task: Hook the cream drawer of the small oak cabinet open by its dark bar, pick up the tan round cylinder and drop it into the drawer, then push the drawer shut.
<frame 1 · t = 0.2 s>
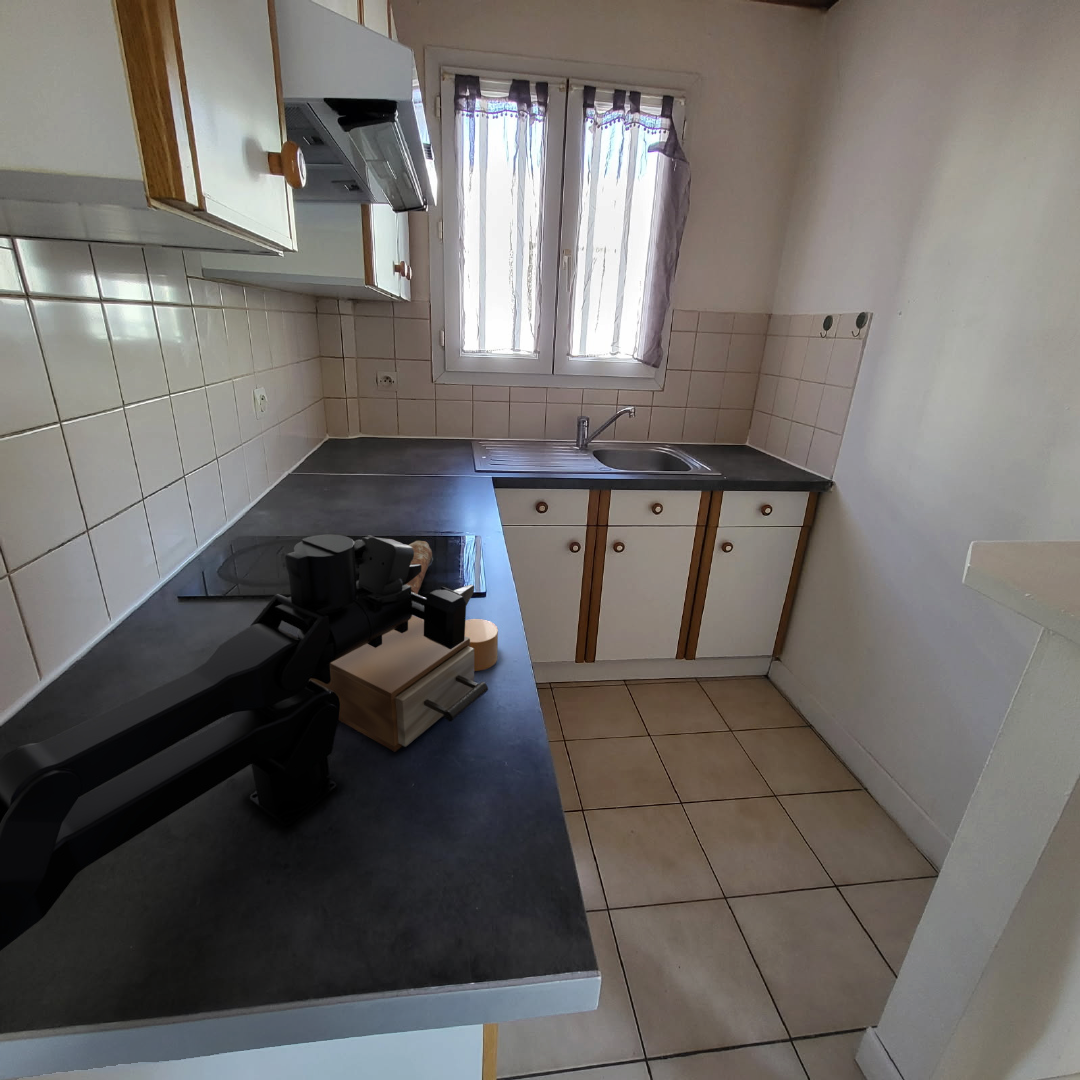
hand: (446, 577, 75), 16 cm above the counter, tool horizontal, fingers open, 9 cm apart
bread: (414, 585, 109), on the counter
drawer: (410, 680, 73), point 4 cm above the counter, slide at 0.0 cm
tan round cylinder: (475, 658, 86), on the counter
cabinet: (390, 695, 77), on the counter
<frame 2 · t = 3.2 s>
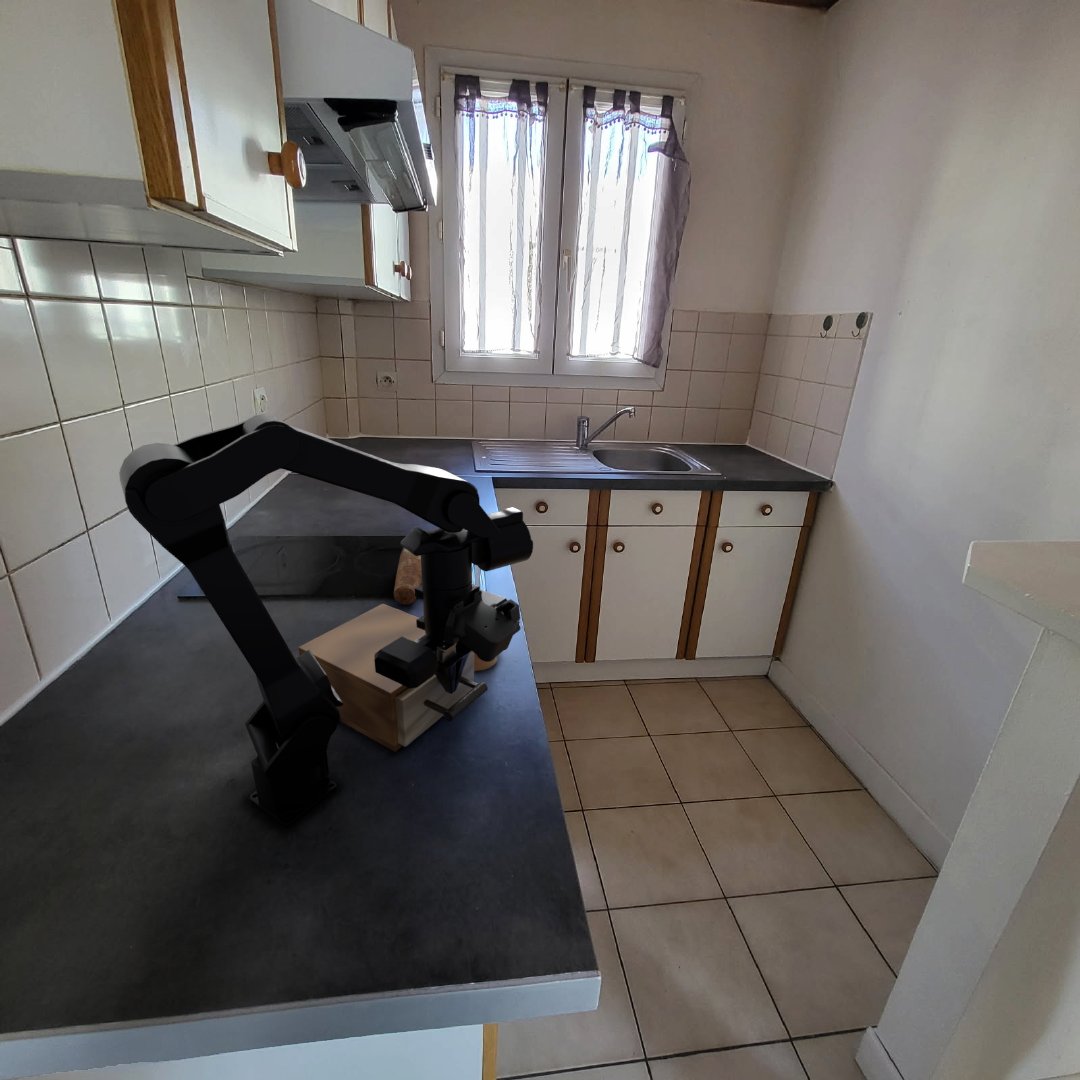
hand: (450, 691, 70), 5 cm above the counter, tool pointing down, fingers closed
drawer: (410, 680, 73), point 4 cm above the counter, slide at 0.0 cm, touching cabinet
everything else where it was.
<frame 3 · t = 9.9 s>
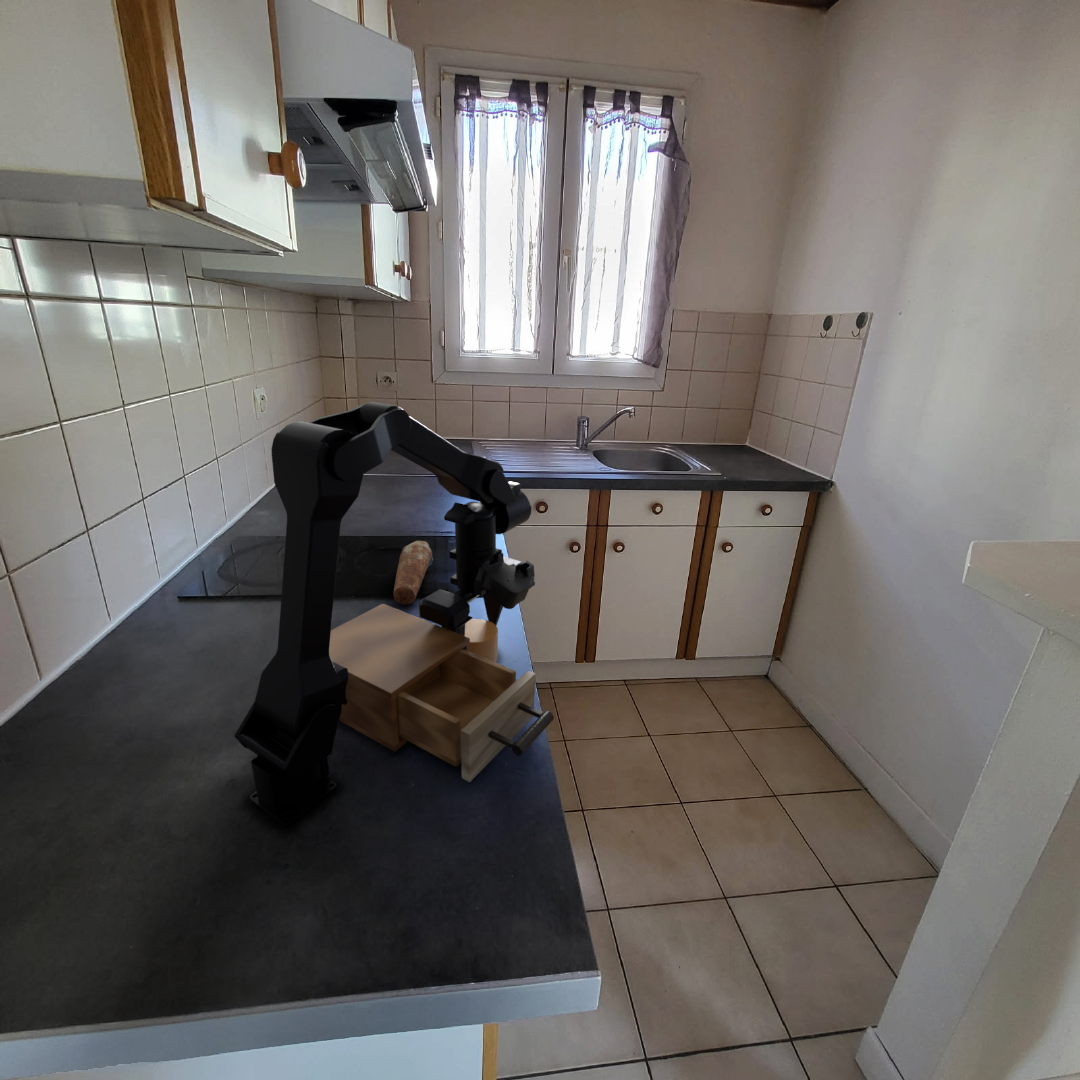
hand: (476, 637, 85), 4 cm above the counter, tool pointing down, fingers open, 8 cm apart
drawer: (469, 707, 69), point 4 cm above the counter, slide at 9.8 cm
everything else where it was.
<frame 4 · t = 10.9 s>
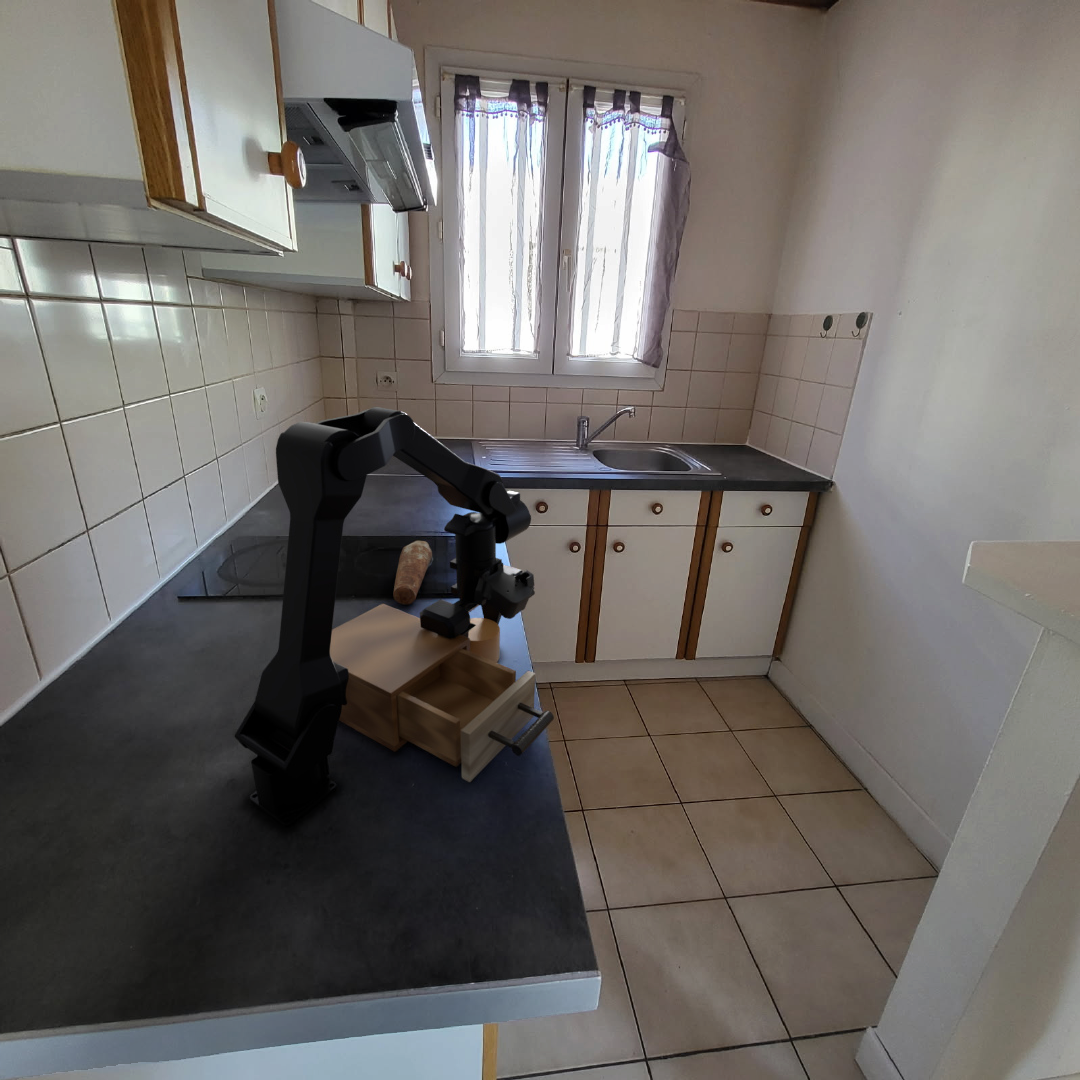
hand: (477, 645, 86), 2 cm above the counter, tool pointing down, fingers closed on tan round cylinder, 7 cm apart
tan round cylinder: (477, 656, 87), on the counter, touching gripper
everything else where it was.
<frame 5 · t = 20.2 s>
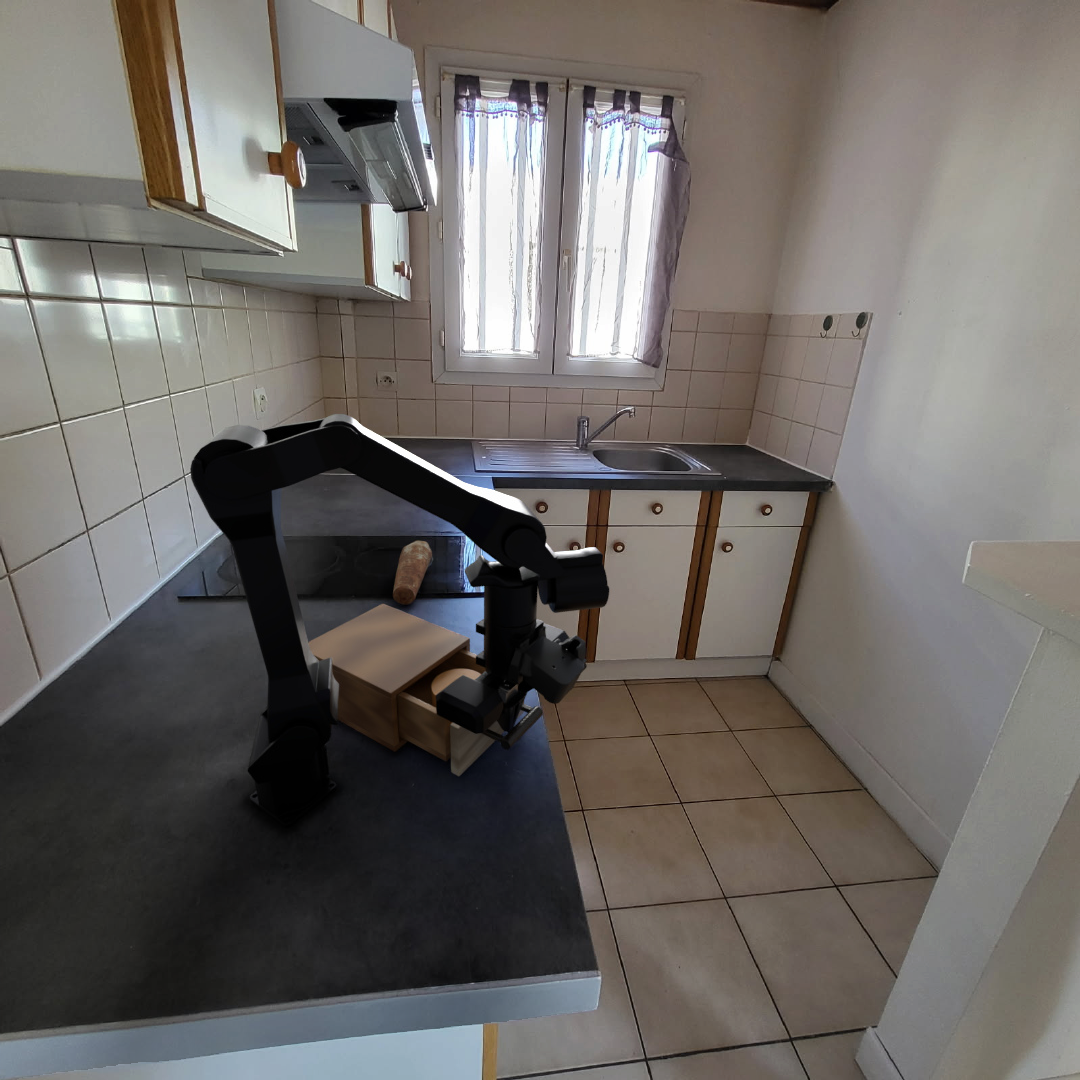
hand: (507, 729, 66), 4 cm above the counter, tool pointing down, fingers closed
drawer: (459, 703, 70), point 4 cm above the counter, slide at 8.2 cm, touching tan round cylinder
tan round cylinder: (459, 717, 71), point 2 cm above the counter, touching drawer
everything else where it was.
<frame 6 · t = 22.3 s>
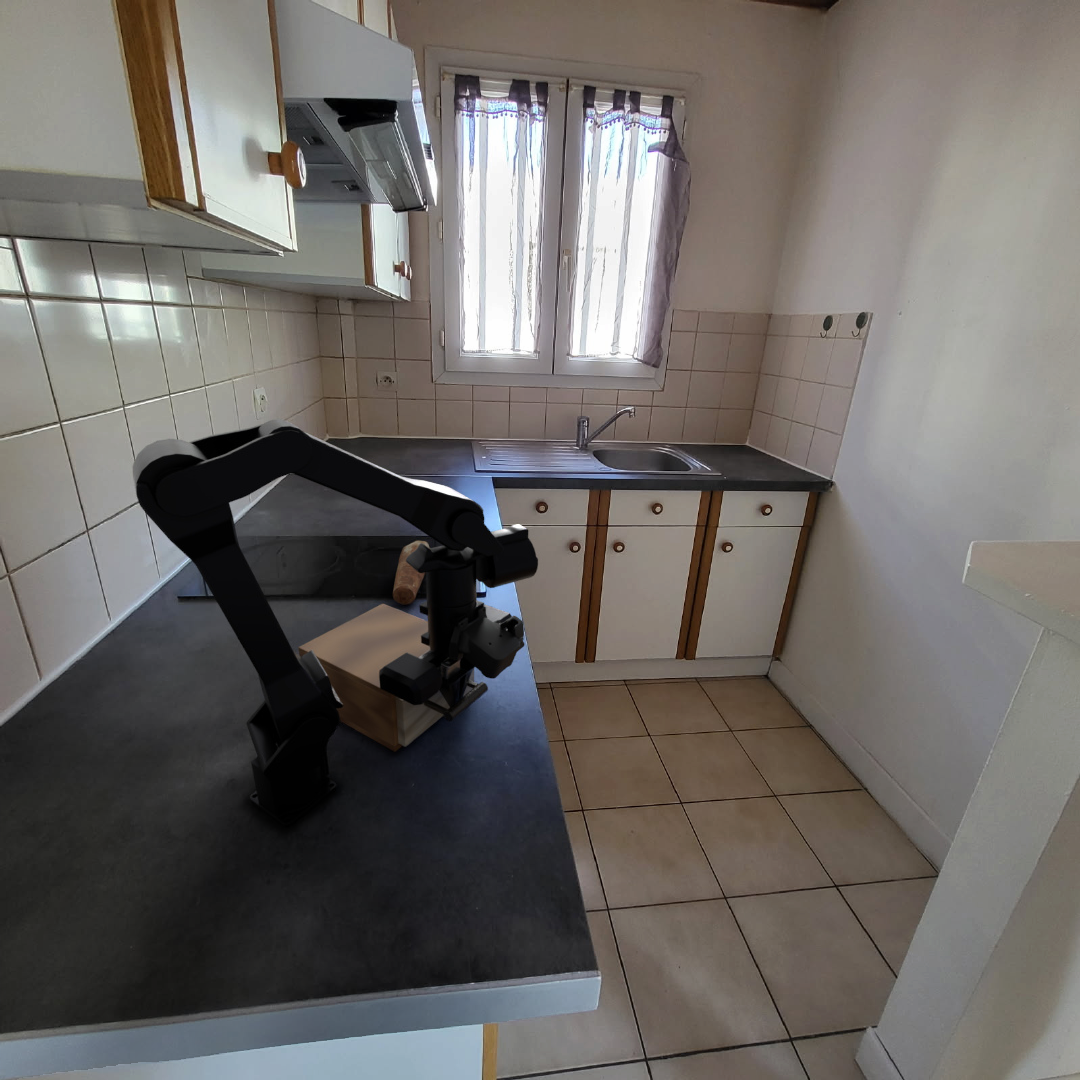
hand: (454, 706, 70), 3 cm above the counter, tool pointing down, fingers closed, pressing on drawer
drawer: (410, 680, 73), point 4 cm above the counter, slide at 0.0 cm, touching tan round cylinder, cabinet, gripper
tan round cylinder: (411, 693, 74), point 2 cm above the counter, touching drawer
everything else where it was.
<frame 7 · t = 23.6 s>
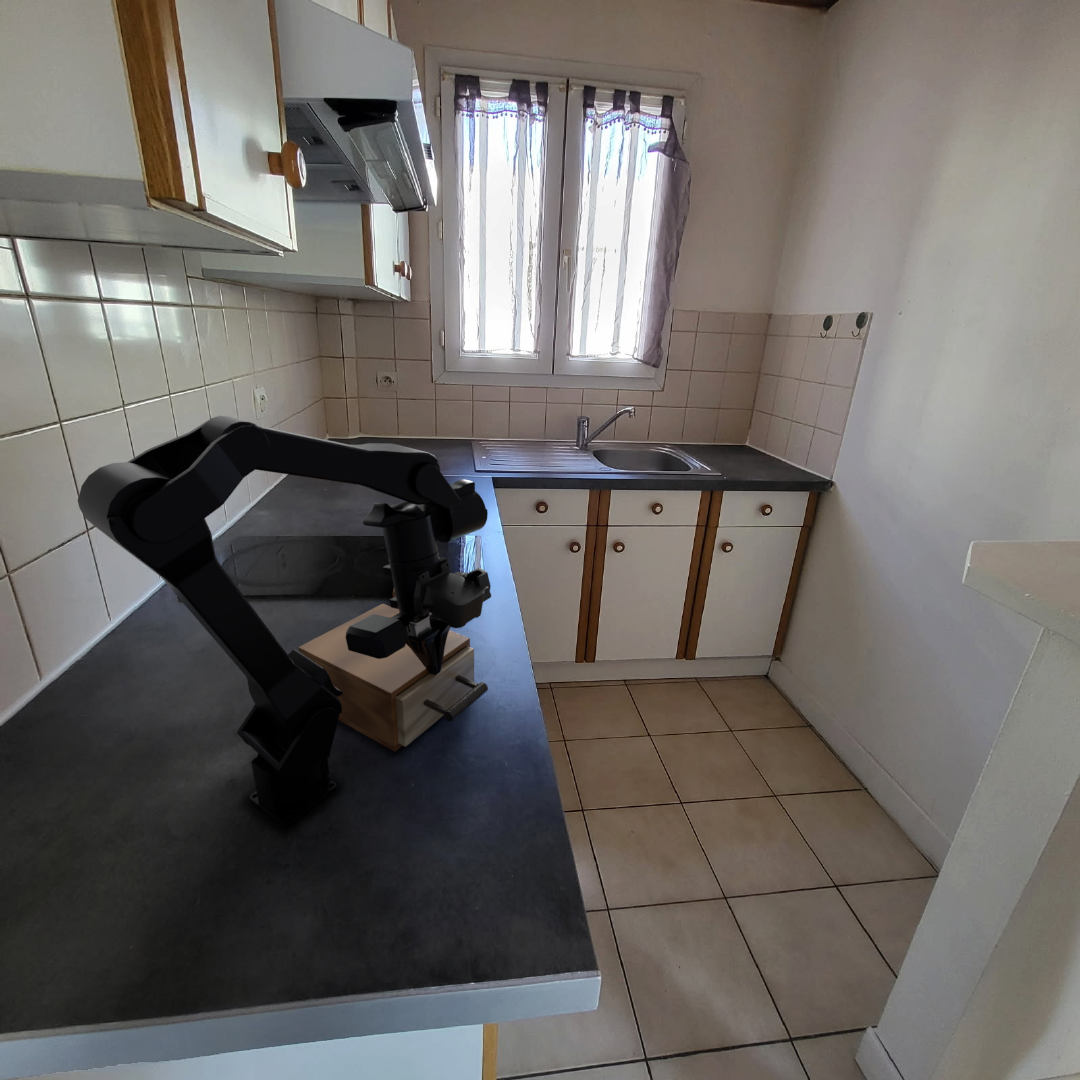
hand: (435, 673, 69), 8 cm above the counter, tool pointing down, fingers closed, pressing on cabinet
drawer: (410, 680, 73), point 4 cm above the counter, slide at 0.0 cm, touching tan round cylinder, cabinet
everything else where it was.
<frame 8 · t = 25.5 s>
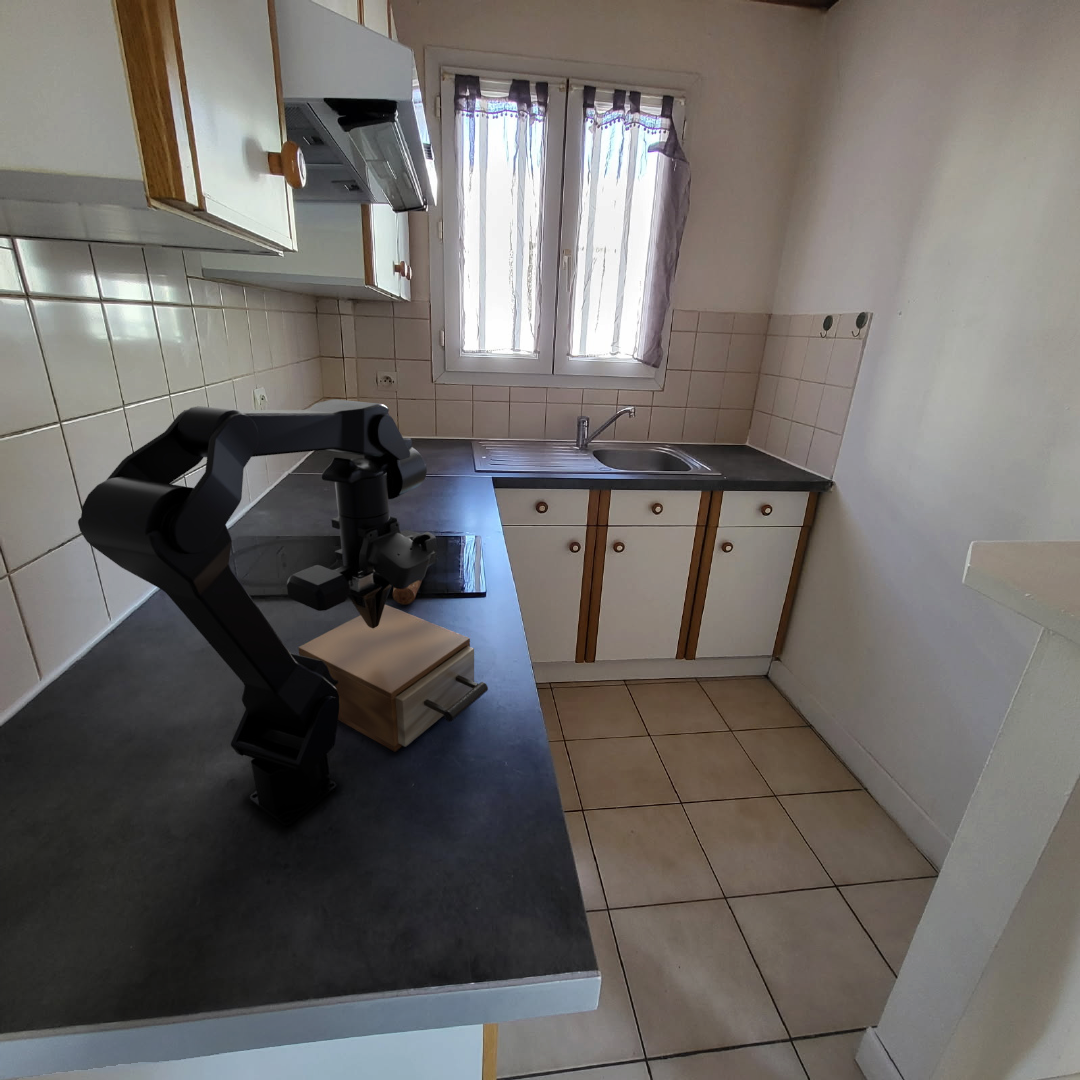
hand: (373, 626, 71), 12 cm above the counter, tool pointing down, fingers closed
nothing on the counter moved.
at the end: tan round cylinder inside the target area in the cabinet (4.0 cm from its centre), point 2.0 cm above the cabinet's base; drawer slide at 0.0 cm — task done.
